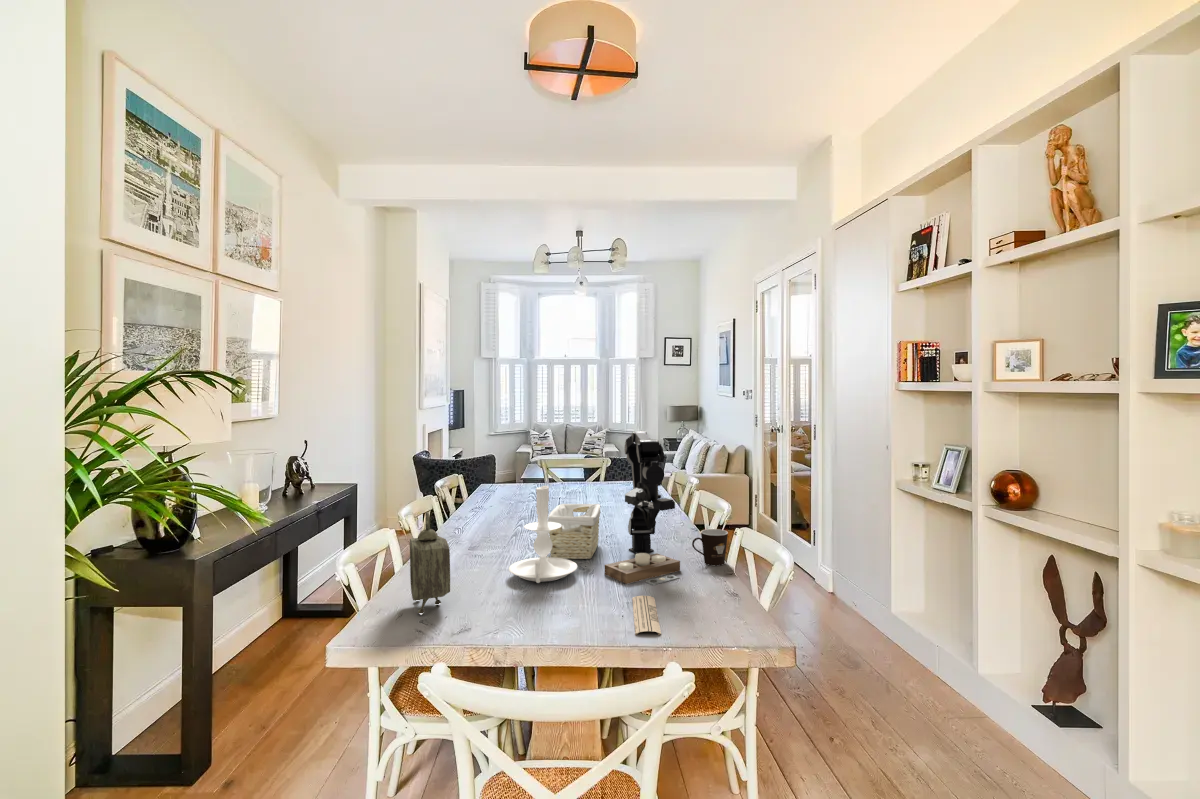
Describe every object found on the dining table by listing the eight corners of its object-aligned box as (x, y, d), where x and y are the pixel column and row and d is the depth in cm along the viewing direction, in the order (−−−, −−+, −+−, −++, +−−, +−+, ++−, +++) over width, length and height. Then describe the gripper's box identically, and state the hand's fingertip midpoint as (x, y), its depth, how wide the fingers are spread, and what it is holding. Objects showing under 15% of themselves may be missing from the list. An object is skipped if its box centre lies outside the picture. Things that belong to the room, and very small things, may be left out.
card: (644, 582, 177) (644, 580, 177) (671, 575, 183) (671, 574, 183) (652, 585, 174) (652, 583, 174) (679, 578, 180) (679, 577, 180)
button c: (648, 567, 190) (648, 556, 190) (659, 564, 193) (659, 554, 193) (657, 570, 187) (657, 560, 187) (668, 568, 189) (668, 557, 189)
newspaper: (632, 602, 163) (632, 595, 163) (658, 602, 163) (658, 595, 163) (635, 638, 140) (635, 630, 140) (665, 638, 139) (665, 630, 139)
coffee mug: (726, 559, 200) (726, 529, 199) (729, 567, 191) (729, 535, 191) (690, 558, 201) (690, 528, 201) (692, 566, 192) (692, 535, 192)
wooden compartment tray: (604, 574, 184) (604, 564, 184) (656, 562, 197) (656, 553, 197) (626, 584, 176) (626, 573, 175) (680, 570, 188) (680, 561, 188)
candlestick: (499, 593, 168) (498, 493, 168) (515, 566, 193) (514, 479, 193) (573, 594, 168) (572, 493, 167) (579, 567, 192) (579, 479, 192)
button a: (615, 574, 183) (615, 564, 183) (627, 572, 185) (627, 561, 185) (624, 578, 179) (624, 567, 179) (636, 575, 182) (636, 564, 182)
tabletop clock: (410, 600, 164) (409, 508, 163) (444, 595, 167) (443, 505, 166) (414, 619, 150) (412, 519, 150) (451, 614, 153) (449, 516, 153)
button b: (632, 565, 187) (632, 554, 186) (643, 562, 189) (643, 552, 189) (641, 568, 183) (641, 557, 183) (652, 565, 186) (652, 555, 185)
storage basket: (558, 542, 224) (558, 502, 223) (602, 542, 222) (601, 502, 222) (546, 560, 200) (546, 516, 200) (595, 561, 198) (595, 517, 198)
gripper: (611, 478, 197) (611, 525, 197) (648, 485, 181) (648, 537, 182) (638, 474, 203) (638, 521, 203) (676, 481, 188) (676, 531, 188)
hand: (649, 527), depth 194 cm, fingers closed
